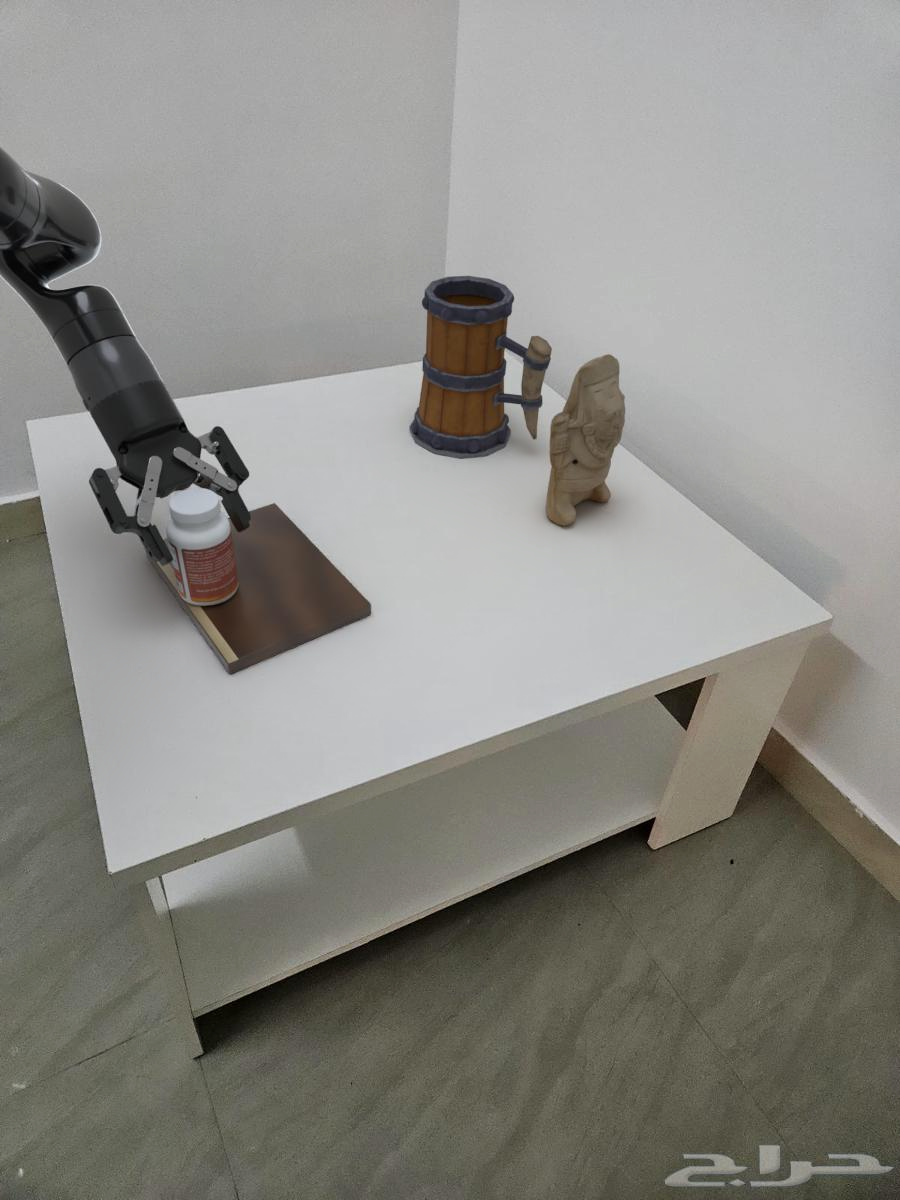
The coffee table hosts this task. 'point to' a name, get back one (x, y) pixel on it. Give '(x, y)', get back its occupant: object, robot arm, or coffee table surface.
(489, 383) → the mug
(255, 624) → the board
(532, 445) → the coffee table surface
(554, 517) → the figurine
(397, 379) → the coffee table surface
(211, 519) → the pill bottle
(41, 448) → the coffee table surface
